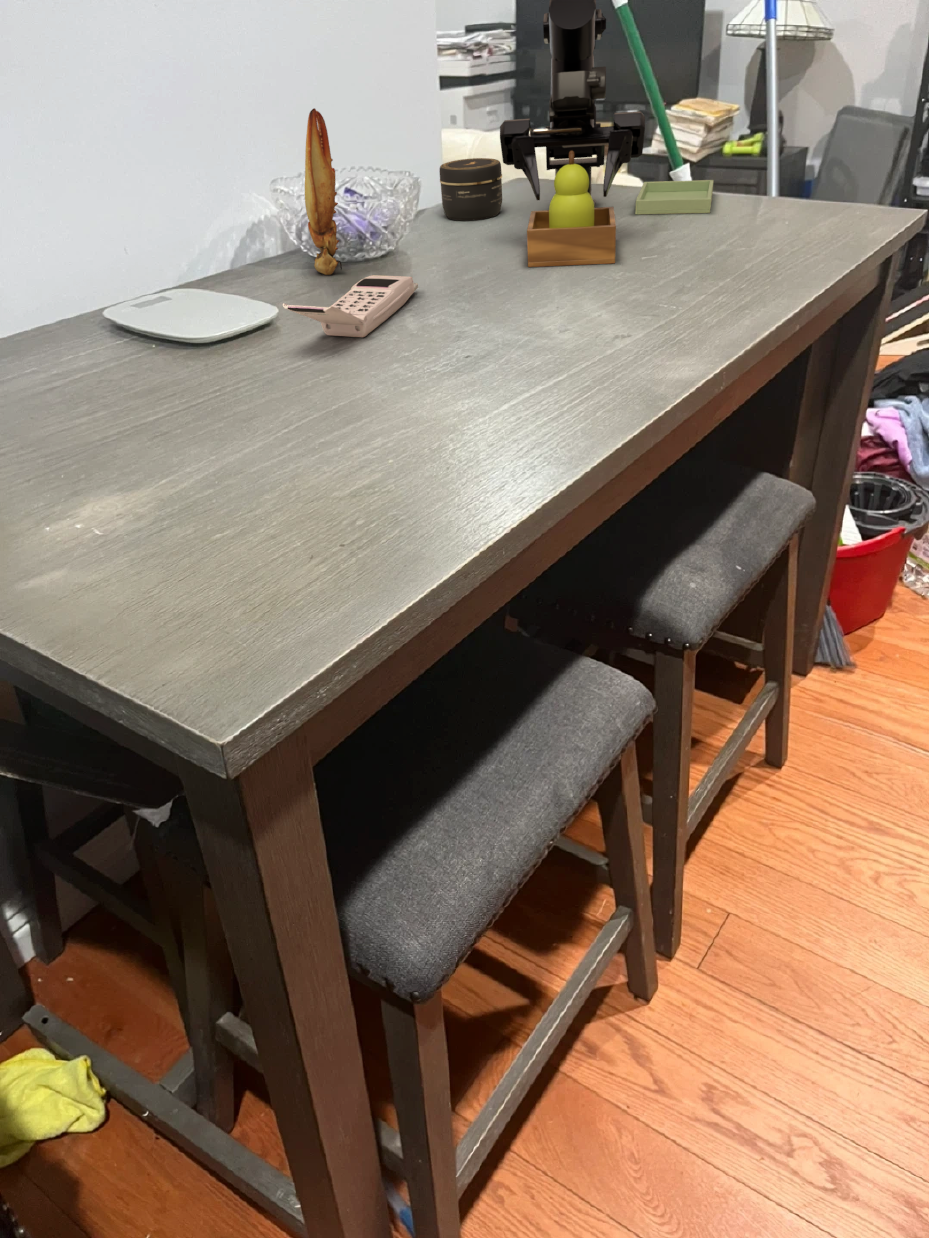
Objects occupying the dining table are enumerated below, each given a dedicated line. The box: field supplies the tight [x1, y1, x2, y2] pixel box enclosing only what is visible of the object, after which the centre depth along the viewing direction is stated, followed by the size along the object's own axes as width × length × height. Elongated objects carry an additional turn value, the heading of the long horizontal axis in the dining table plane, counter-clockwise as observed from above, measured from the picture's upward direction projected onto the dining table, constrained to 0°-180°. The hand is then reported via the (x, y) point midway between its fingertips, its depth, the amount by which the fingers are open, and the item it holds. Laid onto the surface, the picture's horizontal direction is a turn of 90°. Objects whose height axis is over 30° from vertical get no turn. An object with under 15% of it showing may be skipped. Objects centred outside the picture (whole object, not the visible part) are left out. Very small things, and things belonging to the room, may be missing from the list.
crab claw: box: [304, 108, 343, 276], centre depth 118 cm, size 7×5×20 cm
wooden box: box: [526, 206, 617, 268], centre depth 122 cm, size 11×11×5 cm
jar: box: [439, 157, 503, 222], centre depth 146 cm, size 10×10×8 cm
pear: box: [548, 151, 595, 228], centre depth 120 cm, size 6×6×12 cm
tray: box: [634, 179, 715, 215], centre depth 144 cm, size 14×11×2 cm
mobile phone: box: [282, 274, 419, 338], centre depth 103 cm, size 6×6×25 cm
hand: (571, 196), depth 118 cm, fingers open, 8 cm apart
